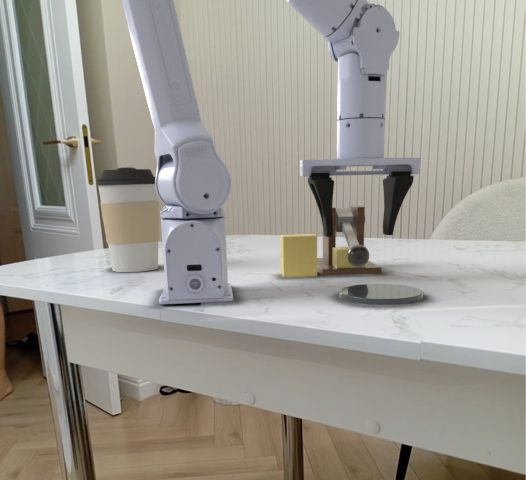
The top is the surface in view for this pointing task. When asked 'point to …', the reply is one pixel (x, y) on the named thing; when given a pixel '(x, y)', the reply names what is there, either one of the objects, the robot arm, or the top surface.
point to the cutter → (329, 242)
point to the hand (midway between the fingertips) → (358, 235)
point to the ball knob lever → (351, 238)
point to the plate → (381, 294)
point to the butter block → (342, 258)
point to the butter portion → (298, 255)
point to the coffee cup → (130, 218)
